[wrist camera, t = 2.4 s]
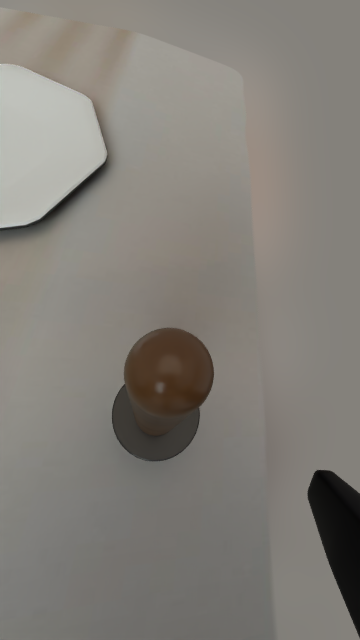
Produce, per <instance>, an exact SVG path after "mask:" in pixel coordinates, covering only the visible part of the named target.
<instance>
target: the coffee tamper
mask: <svg viewBox="0 0 360 640" xmlns="http://www.w3.org/2000/svg"><path fill="white" fill-rule="evenodd" d="M213 379H214V367H213V362H212V359H211V356H210V354H209V352H208V350H207V348H206V347H205V345H204V344H203V343H202V342H201V341H200V340H199V339H198V338H197V337H195V336H194V335H193V334H191V333H189V332H187V331H184V330H181V329H177V328H161V329H157V330H154V331H152V332H150V333H148V334H146V335H144V336H143V337H142V338H140V339H139V340H138V341H137V342H136V343H135V344H134V346H133V347H132V349H131V350H130V352H129V354H128V356H127V359H126V362H125V367H124V381H125V384H124V385H123V387H122V388H121V389H120V391H119V392H118V394H117V396H116V398H115V401H114V405H113V409H112V423H113V429H114V432H115V435H116V437H117V439H118V440H119V442H120V444H121V445H122V446H123V447H124V448H125V449H126V450H127V451H128V452H129V453H130V454H132V455H133V456H135V457H137V458H140V459H142V460H146V461H163V460H167V459H170V458H172V457H174V456H176V455H178V454H179V453H181V452H182V451H183V450H184V449H185V448H186V447H187V446H188V445H189V444H190V443H191V441H192V440H193V438H194V436H195V434H196V431H197V428H198V425H199V417H200V411H199V407H200V406H201V405H202V404H203V403H204V401H205V400H206V398H207V397H208V395H209V393H210V391H211V388H212V384H213Z"/></svg>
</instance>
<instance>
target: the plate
mask: <svg viewBox="0 0 360 640" xmlns="http://www.w3.org/2000/svg"><path fill="white" fill-rule="evenodd" d="M107 157H108V155H107V150H106V147H105V144H104V140H103V137H102V133H101V130H100V126H99V123H98V119H97V116H96V113H95V109H94V106H93V102H92V101H91V100H90V99H89V98H88V97H87V96H85V95H84V94H81V93H79V92H77V91H75V90H72V89H70V88H68V87H66V86H64V85H61V84H59V83H57V82H55V81H52V80H50V79H48V78H46V77H43V76H41V75H39V74H37V73H35V72H32V71H30V70H28V69H26V68H23V67H21V66H17V65H12V64H0V230H6V229H14V228H22V227H28V226H30V225H32V224H35V223H37V222H39V221H41V220H42V219H43V218H45V217H46V216H47V215H48V214H49V213H50V212H51V211H52V210H54V209H55V208H56V207H57V206H58V205H59V204H60V203H61V202H63V201H64V200H65V199H66V198H67V197H68V196H69V195H70V194H72V193H73V192H74V191H75V190H76V189H77V188H78V187H79V186H81V185H82V184H83V183H84V182H85V181H86V180H87V179H88V178H90V177H91V176H92V175H93V174H94V173H95V172H96V171H97V170H99V169H100V168H101V167H102V166H103V165H104V164H105V162H106V160H107Z"/></svg>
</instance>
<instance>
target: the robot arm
mask: <svg viewBox="0 0 360 640" xmlns="http://www.w3.org/2000/svg"><path fill="white" fill-rule="evenodd" d="M308 500H309V503H310V506H311V509H312V513H313V516H314V519H315V522H316V525H317V528H318V531H319V534H320V537H321V540H322V544H323V546H324V550H325V553H326V556H327V559H328V561H329V564H330V567H331V569H332V572H333V575H334V577H335V579H336V581H337V584H338V587H339V589H340V591H341V594H342V596H343V599H344V601H345V604H346V606H347V608H348V611H349V613H350V616H351V618H352V620H353V623H354V625H355V628H356V630H357V633H358V635H359V637H360V493H358V492H357V491H356V490H354V489H353V488H352V487H351V486H350V485H348V484H347V483H346V482H345V481H343V480H342V479H341V478H340V477H338V476H337V475H336V474H335V473H333V472H332V471H327V470H317V471H316V472H315V473H314V475H313V478H312V480H311V483H310V486H309V489H308Z"/></svg>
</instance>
